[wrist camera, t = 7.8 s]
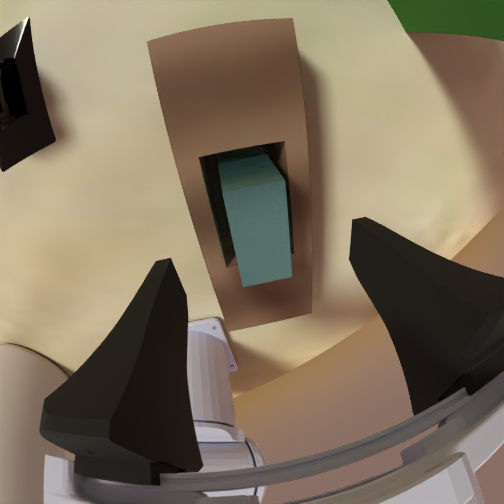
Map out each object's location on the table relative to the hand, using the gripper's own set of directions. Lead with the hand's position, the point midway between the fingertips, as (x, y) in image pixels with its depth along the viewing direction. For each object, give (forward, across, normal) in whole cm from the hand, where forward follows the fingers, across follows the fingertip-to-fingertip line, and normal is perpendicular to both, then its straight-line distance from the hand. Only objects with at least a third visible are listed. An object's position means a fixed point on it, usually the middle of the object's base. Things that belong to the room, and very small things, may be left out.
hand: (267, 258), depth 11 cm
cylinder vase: (+8, +32, +17) cm, 37 cm away
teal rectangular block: (+7, 0, 0) cm, 7 cm away
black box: (+8, +13, -11) cm, 19 cm away
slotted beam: (+7, 0, 0) cm, 7 cm away
